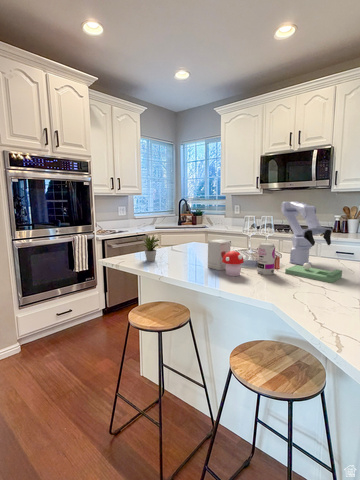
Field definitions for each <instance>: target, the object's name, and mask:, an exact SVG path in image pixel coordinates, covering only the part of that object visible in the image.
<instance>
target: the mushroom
mask: <svg viewBox="0 0 360 480" xmlns="http://www.w3.org/2000/svg"><path fill="white" fill-rule="evenodd" d="M222 262H223V263H226V267H225V268H226V269H225V274H226V276H230V277H239V276H240V274H241V271H242V264H244V263H245V262H244V256H243V255H242V254H241V253H240V252H238V251H236V250H235V249H233V250H230V251H229V252H227V253H226V254H225V255H224V256H223V260H222Z"/></svg>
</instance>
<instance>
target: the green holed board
mask: <svg viewBox="0 0 360 480" xmlns="http://www.w3.org/2000/svg"><path fill="white" fill-rule="evenodd" d="M284 271H285V272H284V273H285V274H287V275H288V274H289V275H293V276H298V277H303V278H307V279H312V280H317V281H319V282H320V281H322V282H325V283H326V282H327V283H332V284H333V283H334V282H336V281H338V280H340V279H342V277H343V270H342V269H337V268H336V269H334V270H333V271H331V270H327V269H326V270H325V269H319V268H314V267H311V268H310V269H309V270H305V269H304V268H303V265H299V264H294V265H293V266H290V267H287V268H285V270H284Z"/></svg>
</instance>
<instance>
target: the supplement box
mask: <svg viewBox="0 0 360 480" xmlns="http://www.w3.org/2000/svg"><path fill="white" fill-rule="evenodd" d="M231 242H232V241H231V240H227V239H226V240H225V239H220V238H219V239H218V238H217V239H212V240H208V241H207V268H208V269H213V270H217V271H222V270H226V268H225V267H226V263H223V262H222V260H223V256H224V255H225V254H226V253H227V252H229V251H231V244H232V243H231Z"/></svg>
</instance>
